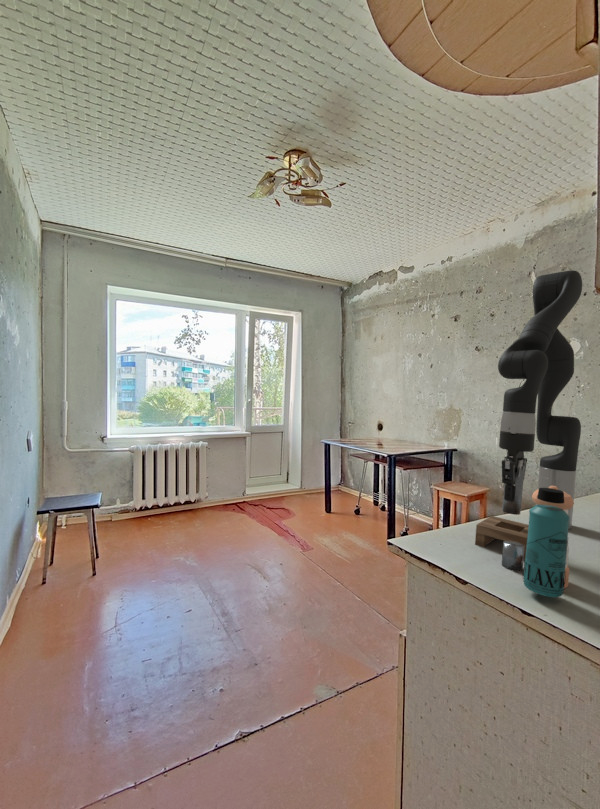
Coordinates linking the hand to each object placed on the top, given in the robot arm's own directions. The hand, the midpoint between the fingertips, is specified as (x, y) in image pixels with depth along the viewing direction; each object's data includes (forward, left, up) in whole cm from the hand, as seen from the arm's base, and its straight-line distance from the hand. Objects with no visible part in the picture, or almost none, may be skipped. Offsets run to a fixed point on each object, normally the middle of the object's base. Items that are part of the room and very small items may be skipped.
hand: (511, 499), depth 93 cm
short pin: (+13, +4, -12) cm, 18 cm away
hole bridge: (0, 0, -12) cm, 12 cm away
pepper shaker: (+14, +11, -12) cm, 21 cm away
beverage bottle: (+23, +12, -12) cm, 28 cm away
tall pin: (0, 0, -3) cm, 3 cm away
